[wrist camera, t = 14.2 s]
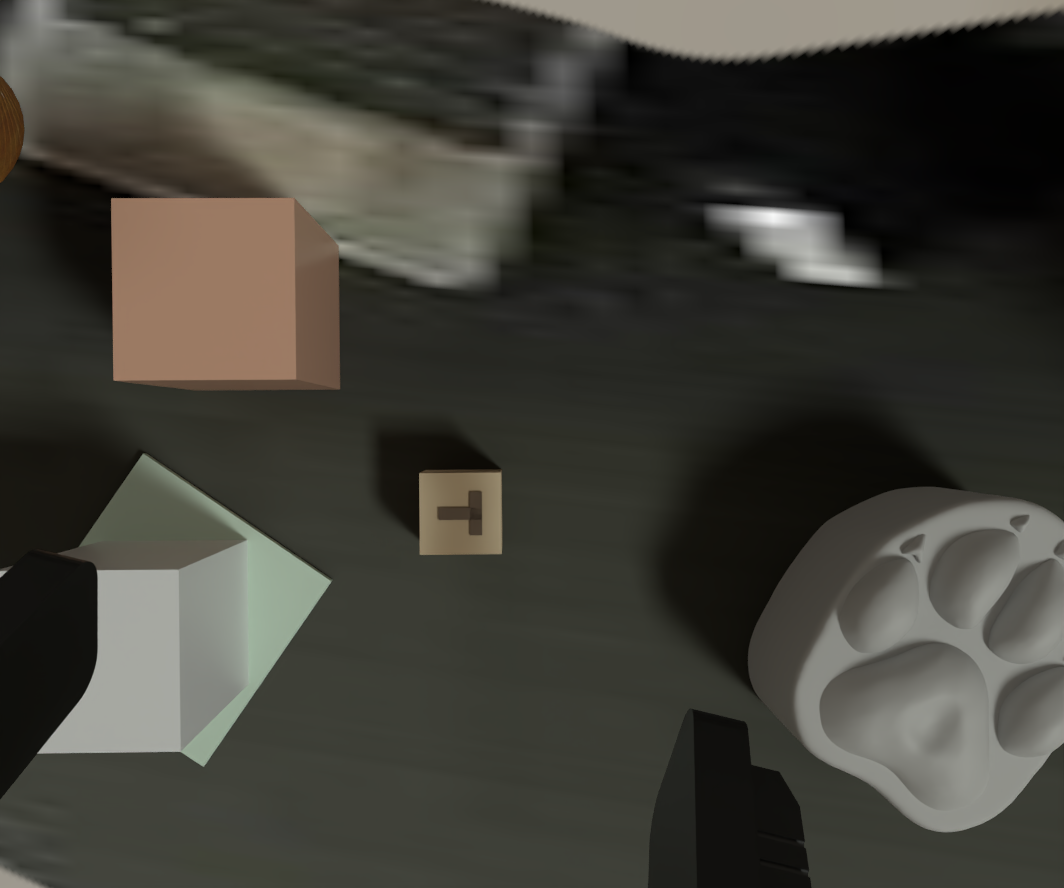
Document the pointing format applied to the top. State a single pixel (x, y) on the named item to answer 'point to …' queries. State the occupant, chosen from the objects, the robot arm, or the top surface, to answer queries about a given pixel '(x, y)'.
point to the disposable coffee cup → (9, 129)
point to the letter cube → (460, 512)
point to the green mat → (273, 571)
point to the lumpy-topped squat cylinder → (923, 649)
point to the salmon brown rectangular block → (224, 295)
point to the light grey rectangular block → (160, 644)
